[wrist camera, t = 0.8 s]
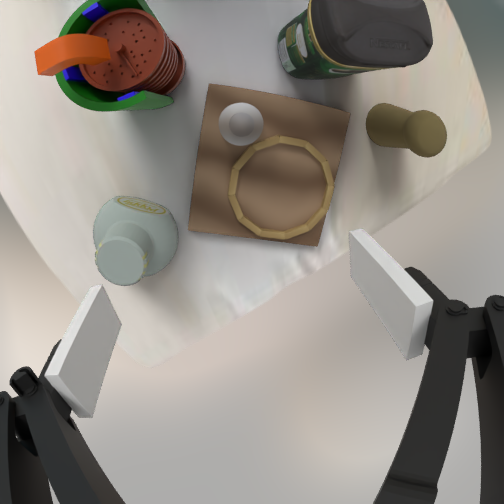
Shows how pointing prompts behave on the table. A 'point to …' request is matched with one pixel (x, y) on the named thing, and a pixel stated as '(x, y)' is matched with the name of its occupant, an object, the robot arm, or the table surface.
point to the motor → (113, 57)
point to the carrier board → (265, 165)
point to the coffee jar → (354, 37)
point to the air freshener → (133, 239)
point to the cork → (406, 129)
